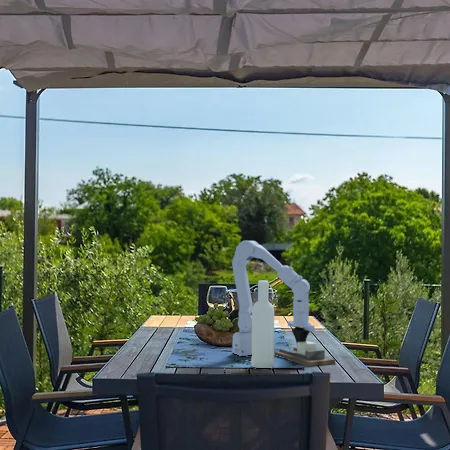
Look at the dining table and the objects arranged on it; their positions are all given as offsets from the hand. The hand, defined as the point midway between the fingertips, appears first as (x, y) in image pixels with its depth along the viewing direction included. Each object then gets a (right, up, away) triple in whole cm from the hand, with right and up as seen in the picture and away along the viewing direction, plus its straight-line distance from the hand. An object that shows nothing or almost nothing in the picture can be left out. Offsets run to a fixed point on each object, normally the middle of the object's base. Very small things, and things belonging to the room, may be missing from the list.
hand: (300, 348), depth 222 cm
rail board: (+1, -4, -2) cm, 4 cm away
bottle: (-15, -3, -16) cm, 23 cm away
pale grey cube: (+2, -2, -3) cm, 5 cm away
